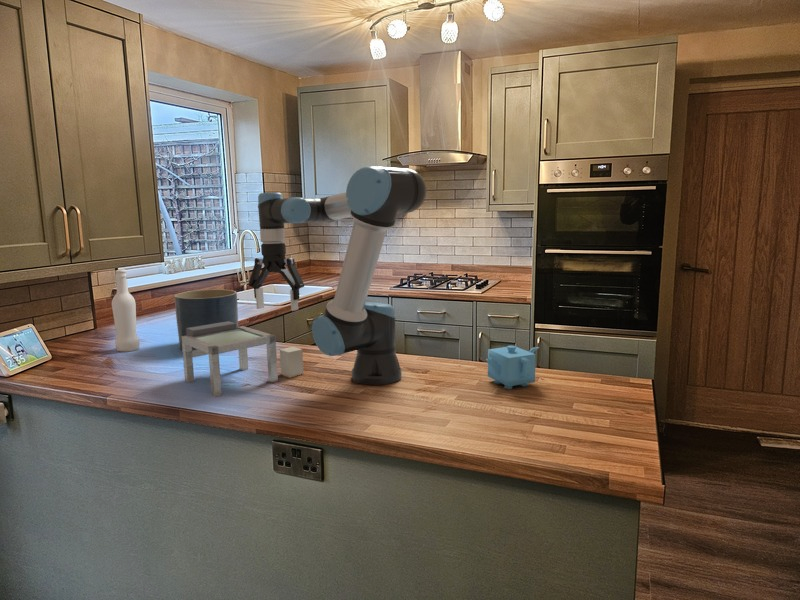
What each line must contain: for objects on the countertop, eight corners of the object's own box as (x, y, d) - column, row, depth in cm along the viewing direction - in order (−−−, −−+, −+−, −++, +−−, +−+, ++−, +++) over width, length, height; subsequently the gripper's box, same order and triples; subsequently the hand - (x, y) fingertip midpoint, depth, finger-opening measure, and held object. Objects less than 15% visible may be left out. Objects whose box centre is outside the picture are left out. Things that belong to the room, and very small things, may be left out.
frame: (277, 381, 167) (275, 335, 165) (214, 397, 154) (211, 348, 151) (245, 367, 182) (242, 325, 179) (185, 381, 168) (181, 336, 166)
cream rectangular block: (303, 374, 174) (302, 349, 173) (289, 377, 171) (288, 352, 169) (294, 370, 178) (293, 346, 176) (281, 374, 174) (279, 349, 173)
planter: (238, 337, 225) (235, 288, 222) (241, 350, 204) (237, 296, 201) (180, 341, 218) (176, 291, 215) (176, 355, 198) (172, 300, 194)
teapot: (472, 380, 166) (472, 343, 164) (522, 372, 173) (523, 337, 171) (502, 396, 151) (502, 356, 149) (555, 387, 158) (556, 349, 156)
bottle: (110, 351, 205) (102, 270, 200) (128, 346, 212) (121, 268, 207) (127, 353, 202) (119, 271, 197) (144, 347, 209) (137, 268, 204)
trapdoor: (263, 346, 166) (262, 330, 165) (215, 356, 156) (214, 339, 155) (231, 336, 181) (230, 321, 180) (185, 344, 170) (184, 328, 170)
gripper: (313, 241, 172) (316, 309, 176) (249, 242, 183) (254, 305, 186) (298, 243, 166) (302, 313, 169) (234, 243, 176) (239, 309, 180)
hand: (277, 309), depth 178 cm, fingers open, 13 cm apart
